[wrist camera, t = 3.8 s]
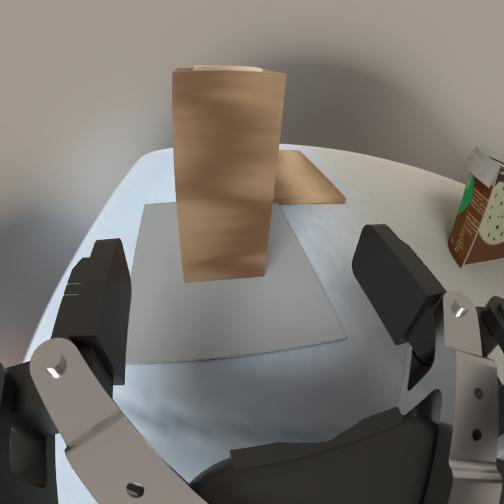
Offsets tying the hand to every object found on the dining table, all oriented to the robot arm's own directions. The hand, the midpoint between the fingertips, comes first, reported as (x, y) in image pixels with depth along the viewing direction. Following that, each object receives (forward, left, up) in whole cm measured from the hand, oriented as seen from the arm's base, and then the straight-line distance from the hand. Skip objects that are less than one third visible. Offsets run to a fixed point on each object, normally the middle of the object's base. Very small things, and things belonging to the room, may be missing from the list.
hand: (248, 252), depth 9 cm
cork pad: (-7, -23, -7) cm, 25 cm away
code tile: (0, -9, -7) cm, 11 cm away
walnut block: (0, -9, -7) cm, 11 cm away
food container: (-25, -8, -7) cm, 27 cm away
